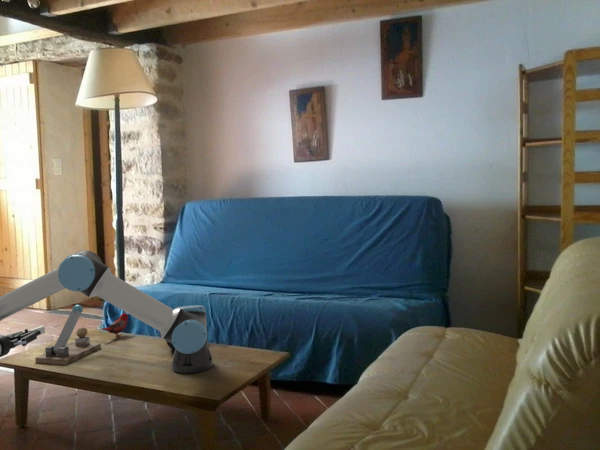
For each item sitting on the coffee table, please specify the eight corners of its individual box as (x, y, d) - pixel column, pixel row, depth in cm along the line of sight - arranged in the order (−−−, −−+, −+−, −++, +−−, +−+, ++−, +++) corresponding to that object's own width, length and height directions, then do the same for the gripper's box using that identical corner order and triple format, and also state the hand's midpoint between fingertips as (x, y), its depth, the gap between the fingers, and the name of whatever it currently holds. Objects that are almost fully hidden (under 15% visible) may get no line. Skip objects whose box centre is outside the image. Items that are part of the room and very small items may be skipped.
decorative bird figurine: (132, 332, 255) (130, 311, 254) (102, 343, 239) (101, 320, 238) (127, 332, 256) (126, 311, 255) (97, 342, 240) (96, 320, 240)
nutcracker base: (65, 364, 211) (64, 341, 210) (35, 362, 214) (34, 339, 214) (100, 348, 232) (99, 326, 231) (72, 346, 235) (71, 325, 235)
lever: (57, 352, 213) (81, 303, 227) (49, 351, 214) (73, 302, 228) (63, 356, 216) (86, 308, 230) (54, 356, 217) (78, 307, 231)
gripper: (-21, 357, 188) (29, 338, 211) (10, 359, 185) (58, 339, 208) (-23, 336, 188) (28, 319, 210) (8, 338, 184) (56, 320, 207)
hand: (43, 329), depth 209 cm, fingers closed
